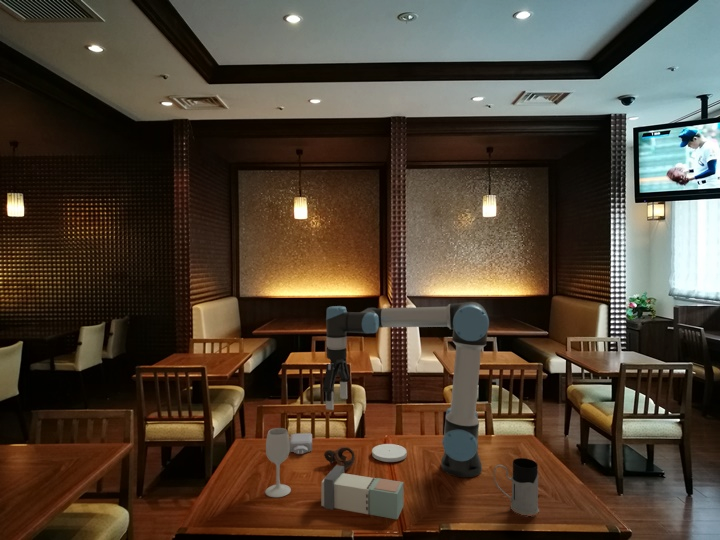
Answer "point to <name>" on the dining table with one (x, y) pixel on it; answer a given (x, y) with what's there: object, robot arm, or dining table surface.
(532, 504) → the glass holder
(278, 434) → the wineglass
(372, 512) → the retro monitor box
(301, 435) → the charger
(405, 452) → the plastic lid
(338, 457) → the brown hollow ring
